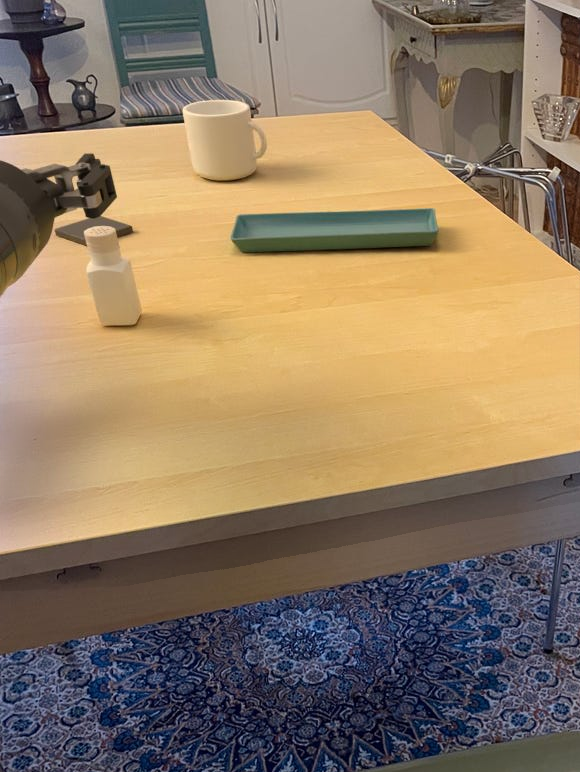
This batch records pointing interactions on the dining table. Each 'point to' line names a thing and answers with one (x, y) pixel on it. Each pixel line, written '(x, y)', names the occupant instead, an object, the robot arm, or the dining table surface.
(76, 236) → the coaster
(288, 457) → the dining table surface
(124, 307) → the salt shaker
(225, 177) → the mug
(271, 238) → the rectangular tray
